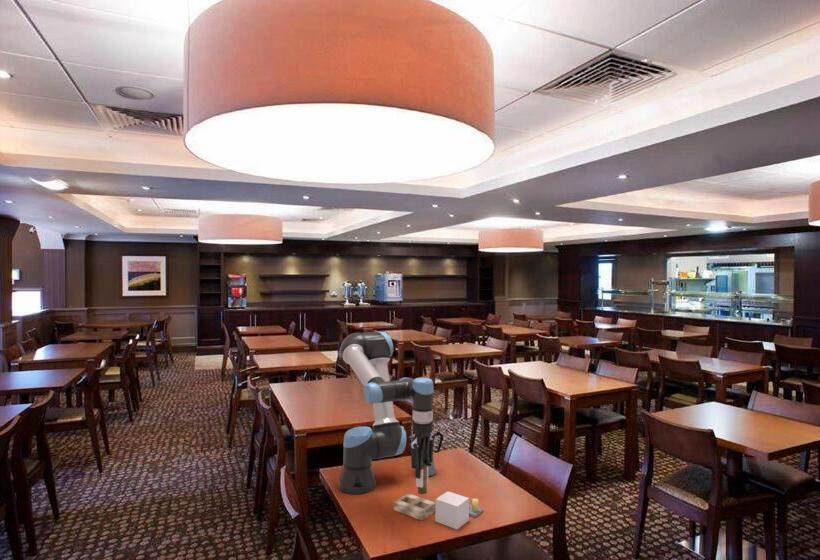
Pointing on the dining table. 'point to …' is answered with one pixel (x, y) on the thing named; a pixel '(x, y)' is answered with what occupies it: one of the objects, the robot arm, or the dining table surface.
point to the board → (475, 508)
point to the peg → (424, 488)
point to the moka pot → (432, 467)
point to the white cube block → (452, 510)
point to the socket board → (415, 506)
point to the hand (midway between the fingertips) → (422, 484)
